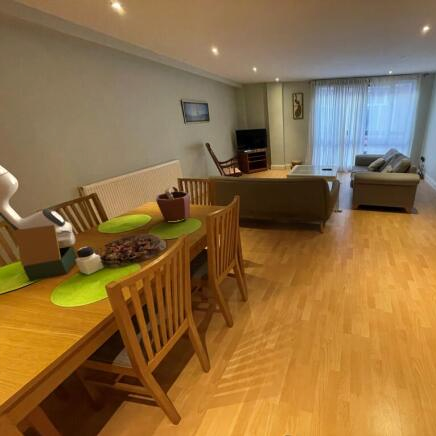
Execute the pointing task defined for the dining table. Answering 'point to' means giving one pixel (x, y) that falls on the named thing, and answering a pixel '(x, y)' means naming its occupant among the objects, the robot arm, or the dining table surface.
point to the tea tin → (52, 265)
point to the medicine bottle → (88, 260)
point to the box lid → (38, 245)
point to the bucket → (174, 204)
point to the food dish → (131, 250)
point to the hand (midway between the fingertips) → (40, 250)
